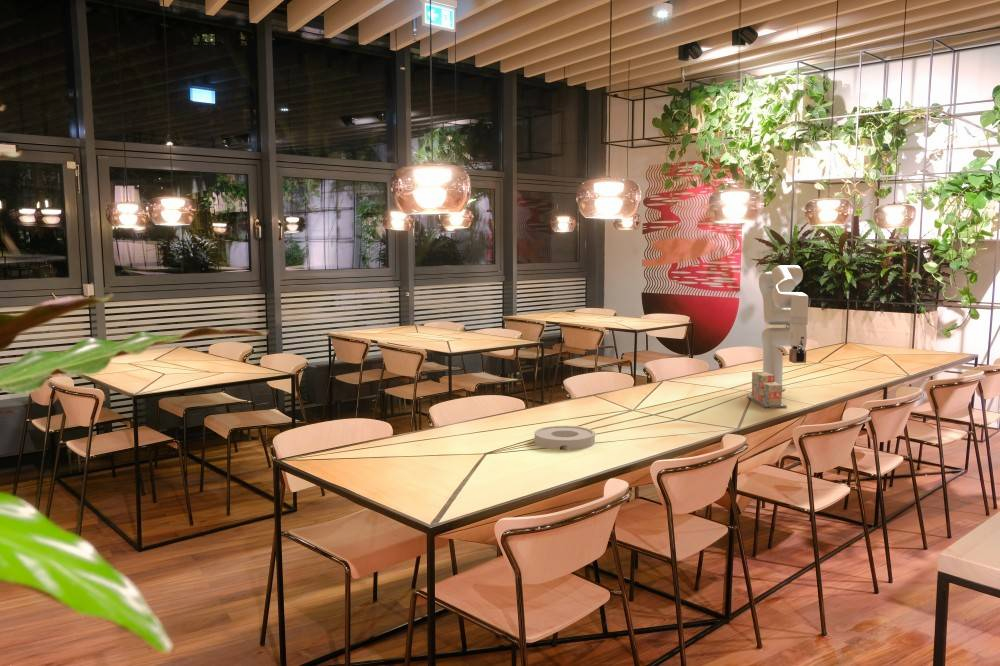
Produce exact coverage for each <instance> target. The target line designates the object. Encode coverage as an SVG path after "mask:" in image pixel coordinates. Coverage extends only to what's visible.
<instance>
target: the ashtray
mask: <svg viewBox="0 0 1000 666" xmlns="http://www.w3.org/2000/svg"><path fill="white" fill-rule="evenodd" d="M595 439H596V431H594V430H593V429H590V428H588V427H584V426H576V425H553V426H546V427H541V428H538V429H536V430H535V431H534V444H535V445H536V446H538V447H541V448H544V449H548V450H555V451H556V450H559V451H560V450H561V449H563V450H566V451H573V450H574V451H575V450H582V449H587V448H590V447H592V446H594V445H595Z"/></svg>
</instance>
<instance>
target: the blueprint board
mask: <svg viewBox="0 0 1000 666" xmlns="http://www.w3.org/2000/svg"><path fill="white" fill-rule="evenodd" d="M747 397H748V398H750V399H751V400H750V399H749V400H750V401H752V400H753V401H755V402H756V403H755V402H754V403H755V404H757V403H758V404H759V405H758V404H757V405H758V406H760V405H761V407H762V406H763V407H787V408H788V405H787V404H785V403H783V402H781V405H767V404H766V403H764V402H762V401H760V400H757V399H755V398H754V397H752V395H747V396H746V398H747ZM748 398H747V399H748ZM753 401H752V402H753ZM763 407H762V408H763Z"/></svg>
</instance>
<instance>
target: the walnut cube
mask: <svg viewBox="0 0 1000 666" xmlns="http://www.w3.org/2000/svg"><path fill="white" fill-rule="evenodd" d="M804 351H805V352H804V361H803V362H797V361H796V360H797V353H798V351H797V349H791V348H789V354H788V355H789V357H788V362H791V363H792V364H806V363H807V350H806V349H805V350H804Z"/></svg>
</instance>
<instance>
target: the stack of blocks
mask: <svg viewBox="0 0 1000 666" xmlns="http://www.w3.org/2000/svg"><path fill="white" fill-rule="evenodd" d="M782 386H783V384H782V385H781V384H778V383H776V382H774V375H772V374H770V373H767V372H763V371H752V372H751V396H752V397H754V398H755V399H757V400H760V401H762V402H764V403H766V404H767V405H781V403H782V395H783V393H782V392H783V391H782Z"/></svg>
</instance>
